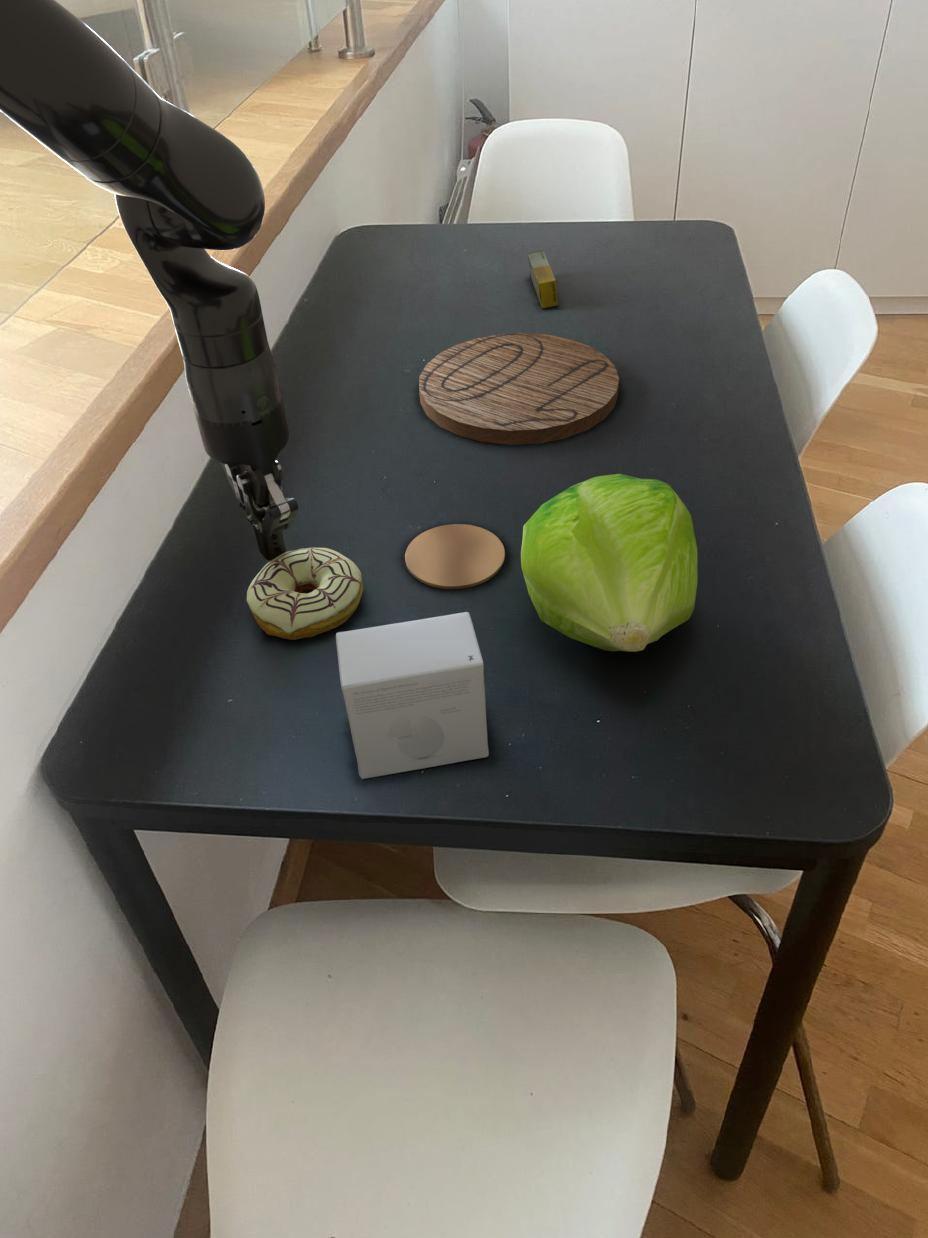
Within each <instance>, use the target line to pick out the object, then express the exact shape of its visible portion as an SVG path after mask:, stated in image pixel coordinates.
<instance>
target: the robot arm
mask: <svg viewBox="0 0 928 1238" xmlns="http://www.w3.org/2000/svg"><path fill="white" fill-rule="evenodd" d="M0 112H1V113H3V114H4V115H5V117H8V118H9V119H10V121H12V122H14V123H15V124H16V125H17V126H18V127H20V128H21V129H23V130H24V131H25V132H26V133H27V134H29V135H30V136H31V137H32V138H34V139H35V140H36V141H37V142H38V143H40V144H41V145H42V146H44V147H45V148H46V149H48V150H49V151H50V152H51V153H52V154H54V155H55V156H57V157H58V158H59V159H60V160H62V161H63V162H64V163H66V164H67V165H69V166H70V168H73V170H75V171H77V172H78V173H79V174H80V175H82V176H83V177H84V178H85V179H87V180H88V181H90V182H91V183H93V184H94V185H96V186H98V187H99V188H101V189H103V190H105V191H108V192H109V193H111V194H114V199H115V204H116V208H117V212H118V216H119V218H120V222H121V224H122V227H123V228H124V231H125V233H126V235H127V237H128V239H129V241H130V242H131V244H132V246H133V248H134V250H135V251H136V254H137V255H138V257H139V259H140V260H141V262H142V263H143V266H144V267H145V269H146V271H147V272H148V274H149V276H150V277H151V280H152V281H153V283H154V285H155V287H156V289H157V290H158V292H159V293H160V296H161V297H162V298H163V300H164V301H165V303H166V305H167V307H168V309H169V310H170V315H171V319H172V322H173V326H174V330H175V334H176V338H177V342H178V346H179V350H180V353H181V356H182V361H183V366H184V368H183V369H184V376H185V383H186V387H187V390H188V395H189V398H190V401H191V404H192V409H193V413H194V416H195V420H196V423H197V427H198V432H199V435H200V439H201V442H202V446H203V449H204V451H205V453H206V455H208V457H210V458H211V459H212V460H213V461H215V462H217V463H220V465H221V467H222V469H223V472H224V474H225V476H226V478H227V480H228V483H229V485H230V487H231V490H232V492H233V495H234V496H235V498H236V500H237V504H238V506H239V508H240V509H241V510H242V511H245V512H246V519H247V521H248V522H249V523H250V525H252V527H253V532H254V536H255V540H256V544H257V548H258V551H259V553H260V554H261V555H262V557H263V558H264V559H265V560H266V561H268V562H270V561H272V560H274V559H275V558H276V557H278V556H280V555H281V554H283V553H285V552H287V548H286V544H285V540H284V535H283V531H284V530H288V529H291V528H292V525H293V523H294V521H295V518H296V516H297V515H298V512H299V504H298V502H297V501H296V499H295V498H294V497H291V498H289V497H286V498H285V495H284V489H283V483H282V482H283V479H284V474H283V468H282V465H281V463H280V462H279V461H278V460H276V459H277V458H278V456H279V454H280V453H281V452H282V451H283V449H284V448H285V447H286V445H287V444H288V442H289V439H290V431H289V425H288V420H287V415H286V409H285V405H284V400H283V395H282V390H281V385H280V380H279V374H278V370H277V365H276V363H275V359H274V356H273V353H272V351H271V348H270V344H269V340H268V335H267V331H266V326H265V325H266V324H265V319H264V316H263V309H262V305H261V299H260V295H259V292H258V288H257V286H256V283H255V282H254V281H253V279H252V278H251V277H250V276H249V274H247V273H246V272H243V271H241V270H239V269H236V268H234V267H232V266H230V265H227V264H225V263H223V262H220V261H218V260H217V259H215V258H214V257H213V256H212V255H210V254H209V252H208V251H207V250H210V251H221V252H222V251H224V252H225V251H233V250H236V249H237V250H238V249H240V248H243V247H244V246H246V245H247V244H248V243H250V242H252V240H253V239H254V238H255V237H256V236H257V234H258V232H260V229H261V227H262V225H263V222H264V218H265V211H266V210H265V209H266V199H265V198H266V197H265V192H264V188H263V184H262V181H261V179H260V176H259V174H258V172H257V170H256V168H255V166H254V164H253V163H252V161H251V160H250V158H249V157H248V156H247V155H246V154H245V153H244V151H243V150H242V149H241V148H240V147H239V146H238V145H237V144H236V143H234V142H233V141H232V140H230V138H228V136H225V135H224V134H222V133H221V132H219V131H217V130H216V129H215V128H213V127H212V126H210V125H208V124H207V123H205V122H203V121H202V120H200V119H199V118H197V117H195V116H194V115H192V114H191V113H189V112H187V111H186V110H184V109H182V108H180V107H179V106H176V105H174V104H172V103H170V102H168V101H166V100H165V99H164V98H161V96H159V95H158V94H157V92H156V91H155V90H154V89H153V88H152V87H151V86H150V85H149V84H148V83H147V82H146V80H144V79H143V78H142V77H141V76H140V75H139V74H138V73H137V72H136V71H135V70H134V69H133V68H132V67H131V66H130V65H129V64H128V63H127V61H125V60H124V58H122V57H121V55H119V54H118V52H117V51H116V50H114V49H113V47H112V46H111V45H109V44H108V42H106V41H105V40H104V38H102V37H101V36H100V35H98V33H96V32H95V31H94V30H93V29H92V28H91V27H89V26H88V25H87V24H86V23H85V22H83V21H82V20H81V19H80V18H78V17H77V16H76V15H75V14H73V13H72V12H71V11H70V10H68V9H67V8H66V7H64V6H63V5H61V4H60V3H59V2H58V1H57V0H0Z"/></svg>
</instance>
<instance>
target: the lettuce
mask: <svg viewBox="0 0 928 1238" xmlns="http://www.w3.org/2000/svg"><path fill="white" fill-rule="evenodd" d="M696 539H697V538H696V534H695V530H694V523H693V519H692V514H691V513H690V511H689V509H688V508H687V506H686V505H685V502H684V501H683V500H682V499H681V497H679V495H678V494H677V493H676V491H675V490H674V489H673V488H672V486H671V485H670V484H669V483H667V482H664V481H662V480H660V479H657V478H640V477H639V478H638V477H634V476H631V475H626V474H623V473H616V474H606V475H598V476H594V477H591V478H588V479H586V480H584V481H581V482H579V483H576V484H573V485H572V486H571V485H570V487H568V488H566V489H565V490H563V491H561V492H560V493H558V494H556V495H555V496H553V497H551V498H550V499H549V500H547V501H545V502H544V503H543V504H541V505H540V506H539V508H537V510H536V511H535V512H534V513H533V514H532V515H531V517H530V518H528V520H527V521H526V522H525V523H524V524H523V527H522V539H521V540H522V541H521V549H520V566H521V567H520V568H521V571H522V574H523V579H524V582H525V586H526V589H527V593H528V597H529V598H530V600H531V602H532V605H533V607H534V609H535V611H536V613H537V615H538V617H539V620H540V621H541V622H542V623H543V624H546V625H548V626H549V627H551V629H555V631H557V632H559V633H560V634H563V635H564V636H565V637H567V638H569V639H571V640H574V641H577V642H580V643H583V644H586V645H589V646H592V647H594V648H597V649H600V650H602V651H608V652H633V653H635V652H640V651H644V650H645V649H646V646H647V645H648V644H652V643H654V642H657V641H658V640H659V639H660V638H662V637H663V636H664V635H666V634H667V633H669V632H670V631H672V630H674V629H675V628H677V627H678V626H680V625H682V624H684V623H685V622H687V621H688V620H690V618H691V616H692V615H693V612H694V609H695V604H696V597H697V590H698V589H697V588H698V580H699V579H698V546H697V541H696Z"/></svg>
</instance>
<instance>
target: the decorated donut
mask: <svg viewBox="0 0 928 1238" xmlns="http://www.w3.org/2000/svg"><path fill="white" fill-rule="evenodd" d="M363 582H364V581H363V577H362V573H361V570H360V569H359V567H358V566H357V565H356V563H355V562H354V561H352V560H351V559H350V558H348V557H346V556H345V555H343V554H342V553H341V552H338V551H337V550H333V549H331V548H327V547H315V546H314V547H313V546H312V547H307V548H299V549H295V550H288V551H286V552H285V553H283V554H281V555H280V556H278V557H276V558H275V559H273V560H270V561H268V562H267V563H265V565H264V566H263V567H262V568H261V569H260V571H259V572H258V573H257V574H256V575H255V577H254V578H253V579H252V580H251V582H250V584H249V586H248V588H247V591H246V603H247V604H248V607H249V610H250V612H251V614H252V617H253V618H254V620H255V622H256V623H257V625H258V627H259V628H260V629H261V630H263V631H264V632H265V633H266V635H268V636H275V637H278V638H281V639H286V640H293V641H295V640H301V639H305V638H313V637H315V636H317V635H319V634H323V633H325V632H328V631H330V630H332V629H335V628H338V627H339V626H341V625H343V624H344V623H345V622H347V621H348V620H349V618H350V617H352V616H353V614H354V613H355V611H356V610H357V608H358V606H359V604H360V602H361V598H362V595H363V591H364V583H363Z"/></svg>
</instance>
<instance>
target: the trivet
mask: <svg viewBox="0 0 928 1238" xmlns="http://www.w3.org/2000/svg"><path fill="white" fill-rule="evenodd" d="M418 379H419V380H418V383H419V384H418V386H419V387H418V388H419V389H418V392H419V403H420V405H421V407H422V409H423V411H424V413H425V415H426V416H427V417H428V418H429V419H430V420H432V422H434V423H435V424H436V425H437V426H439V427H440V428H442V429H444V430H446V431H448V432H450V433H452V434H454V435H456V436H459V437H462V438H466V439H469V440H473V441H478V442H481V443H487V444H496V445H497V444H498V445H499V444H500V445H508V446H514V445H515V446H517V445H535V444H537V445H538V444H544V443H549V442H555V441H559V440H564V439H568V438H570V437H573V436H576V435H578V434H581V433H583V432H587V431H589V430H590V429H592V428H593V427H595V426H597V425H598V424H599V423H601V422H603V421H604V420H605V419H606V418H607V417H608V416H609V414H610V413H611V412H612V411H613V410H614V408H615V406H616V404H617V400H618V395H619V388H620V377H619V374H618V371H617V368H616V366H615V365H614V363H613V362H612V361H611V360H610V359H609V358H608V357H607V356H606V355H605V354H603V353H602V352H600V351H598V350H597V349H595V348H594V347H591V345H588V344H585V343H582V342H579V341H578V340H577V341H576V340H575V339H571V338H567V337H562V336H557V335H551V334H544V333H543V334H541V333H528V332H520V333H500V334H499V333H498V334H495V335H494V334H493V335H488V336H482V337H476V338H473V339H471V340H467V341H464V342H460V343H457V344H455V345H453V346H451V347H449V348H447V349H445V350H443V351H440V353H438V354H437V355H436V356H434V358H432V359H430V361H428V362H427V363H426V365H425V366H424V368H423V369H422V371H421V373H420V375H419V378H418Z"/></svg>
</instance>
